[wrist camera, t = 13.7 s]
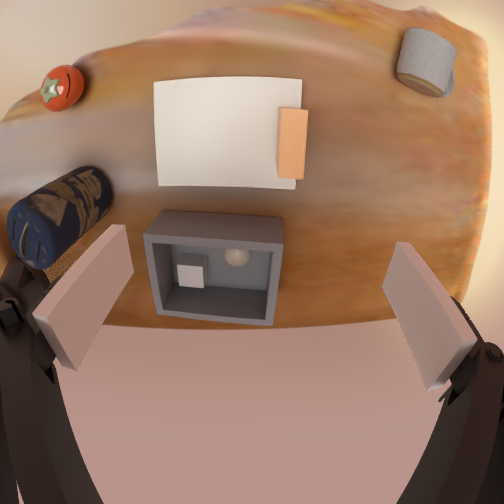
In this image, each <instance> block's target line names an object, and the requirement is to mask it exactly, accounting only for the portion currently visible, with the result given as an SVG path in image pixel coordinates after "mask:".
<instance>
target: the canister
mask: <svg viewBox="0 0 504 504" xmlns="http://www.w3.org/2000/svg"><path fill="white" fill-rule="evenodd" d="M110 204H111V191H110V187H109V184H108V182H107V180H106V179H105V177H104V176H103V175H102V174H101V173H100V172H99V171H98V170H96V169H94V168H91V167H80V168H77V169H75V170H73V171H71V172H69V173H67V174H65V175H63V176H62V177H60V178H58V179H56V180H54V181H53V182H50V183H48V184H46V185H45V186H43V187H41V188H40V189H38V190H36V191H35V192H33V193H31V194H30V195H28V196H27V197H25V198H23V199H22V200H20V201H19V202H17V203H16V204H15V205H14V206H13V207H12V208H11V209H10V211H9V213H8V217H7V232H8V236H9V239H10V242H11V245H12V247H13V249H14V250H15V252H16V253H17V255H18V256H19V257H20V258H21V260H22V261H23V262H25V263H26V264H27V265H29V266H30V267H32V268H34V269H39V270H43V269H46V268H48V267H50V266H51V265H52V264H53V263H54V262H55V261H56V260H57V259H58V258H59V257H60V256H61V255H62V254H63V253H64V252H65V251H66V250H68V249H69V248H70V247H71V246H72V245H73V244H74V243H76V241H77V240H78V239H80V238H81V237H82V236H83V235H84V234H85V233H86V232H87V231H89V230H90V229H91V228H92V227H93V226H94V225H95V224H96V223H97V222H98V221H99V220H100V219H102V218H103V217H104V216H105V214H106V213H107V212H108V210H109V207H110Z"/></svg>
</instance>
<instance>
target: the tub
mask: <svg viewBox="0 0 504 504" xmlns="http://www.w3.org/2000/svg"><path fill="white" fill-rule="evenodd" d="M143 240H144V247H145V253H146V260H147V266H148V272H149V277H150V283H151V288H152V293H153V298H154V303H155V308H156V313H157V314H159V315H167V316H174V317H182V318H190V319H198V320H207V321H217V322H227V323H238V324H250V325H264V326H273V320H274V313H275V306H276V299H277V292H278V285H279V278H280V271H281V263H282V255H283V248H284V239H283V228H282V218H279V217H267V216H254V215H239V214H224V213H208V212H189V211H168V210H162V212H161V213H160V214H159V215H158V216H157V217H156V219H155V220H154V221H153V222H152V223H151V225H150V226H149V227H148V228H147V229H146V231H145V232H144V233H143Z"/></svg>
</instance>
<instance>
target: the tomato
mask: <svg viewBox="0 0 504 504" xmlns="http://www.w3.org/2000/svg"><path fill="white" fill-rule="evenodd" d="M84 86H85V82H84V78H83V75H82V73H81V72H80V71H79V70H78V69H77V68H75V67H73V66H70V65H61V66H58V67H56V68H54V69H52V70H51V71H50V72H49V73H48V74H47V75H46V77H45V79H44V80H43V83H42V86H41V90H40V95H41V101H42V104H43V105H44V106H45V108H47V109H48V110H50V111H52V112H61V111H63V110H66V109H68V108H70V107H71V106H72V105H73V104H75V103H76V102H77V101H78V99H79V98H80V97H81V95H82V93H83V91H84Z"/></svg>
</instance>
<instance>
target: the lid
mask: <svg viewBox="0 0 504 504" xmlns="http://www.w3.org/2000/svg"><path fill="white" fill-rule="evenodd" d="M301 95H302V80H301V79H289V78H274V77H205V78H189V79H178V80H168V81H160V82H154V121H155V144H156V160H157V173H158V185H159V186H227V187H256V188H276V189H293V190H295V185H296V179H301V180H303V175H304V163H305V151H306V138H307V123H308V110H305V109H301Z"/></svg>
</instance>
